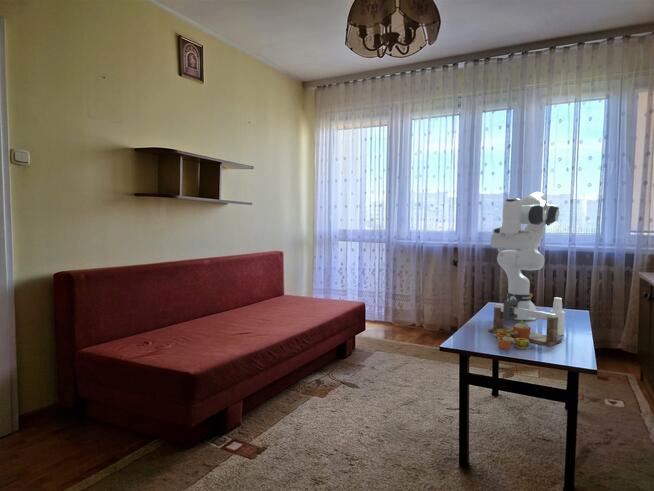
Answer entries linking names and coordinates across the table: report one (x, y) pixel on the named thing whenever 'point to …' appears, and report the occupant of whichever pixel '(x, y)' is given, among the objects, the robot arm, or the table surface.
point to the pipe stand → (551, 318)
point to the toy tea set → (519, 335)
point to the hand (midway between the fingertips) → (510, 257)
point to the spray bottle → (559, 314)
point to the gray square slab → (507, 309)
